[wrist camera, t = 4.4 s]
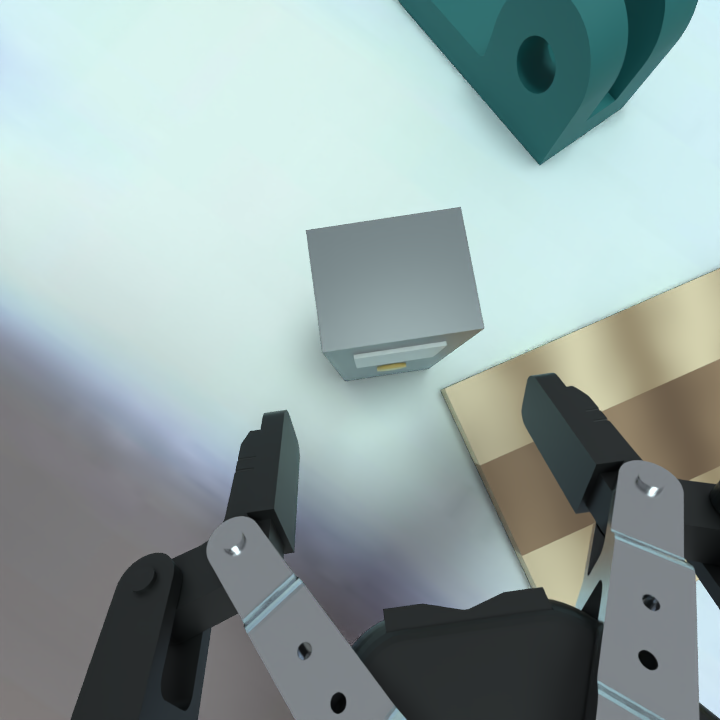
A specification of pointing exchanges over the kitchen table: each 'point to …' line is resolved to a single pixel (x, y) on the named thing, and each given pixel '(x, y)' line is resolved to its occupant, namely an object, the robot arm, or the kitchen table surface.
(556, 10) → the bracket
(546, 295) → the kitchen table surface
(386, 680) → the robot arm
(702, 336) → the plywood panel
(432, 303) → the grey upright block
